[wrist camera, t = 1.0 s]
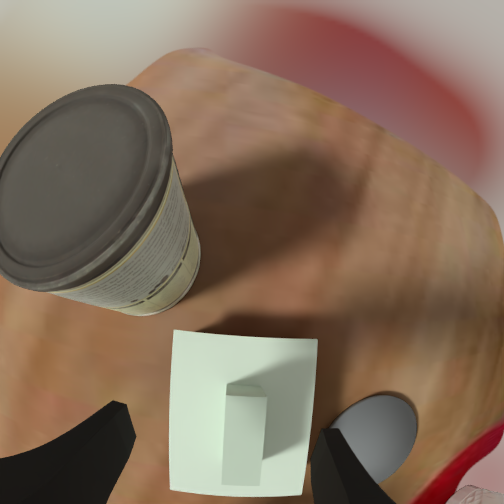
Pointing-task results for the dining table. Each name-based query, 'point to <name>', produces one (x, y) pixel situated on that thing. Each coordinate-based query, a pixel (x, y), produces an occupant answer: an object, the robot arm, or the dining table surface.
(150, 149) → the coffee can
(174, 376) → the lid
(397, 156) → the dining table surface
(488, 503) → the white cup
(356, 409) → the stone
